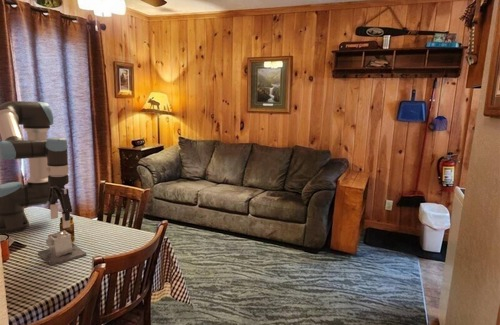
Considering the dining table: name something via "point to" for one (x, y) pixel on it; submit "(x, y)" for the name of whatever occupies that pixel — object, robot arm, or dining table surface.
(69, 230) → the condiment
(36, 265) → the dining table surface
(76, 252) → the plate
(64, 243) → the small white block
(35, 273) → the dining table surface
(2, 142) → the robot arm
